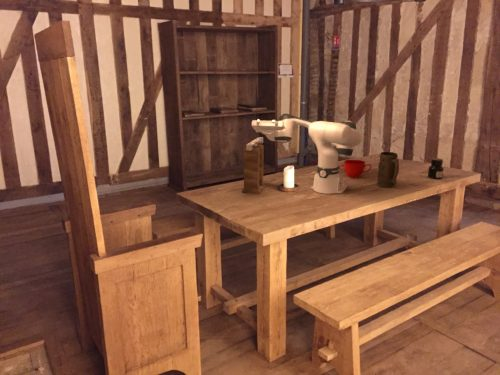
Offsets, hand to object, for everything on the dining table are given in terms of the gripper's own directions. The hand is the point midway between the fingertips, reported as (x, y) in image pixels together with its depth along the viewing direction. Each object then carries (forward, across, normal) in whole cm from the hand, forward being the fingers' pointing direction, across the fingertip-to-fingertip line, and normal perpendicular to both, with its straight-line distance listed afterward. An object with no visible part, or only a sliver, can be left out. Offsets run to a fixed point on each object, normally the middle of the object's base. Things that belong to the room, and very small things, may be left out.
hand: (265, 120), depth 265 cm
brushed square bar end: (+16, +1, -21) cm, 27 cm away
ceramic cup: (-34, -56, -24) cm, 70 cm away
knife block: (+7, +1, -44) cm, 45 cm away
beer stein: (-18, -74, -32) cm, 83 cm away
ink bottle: (-45, -105, -19) cm, 115 cm away
